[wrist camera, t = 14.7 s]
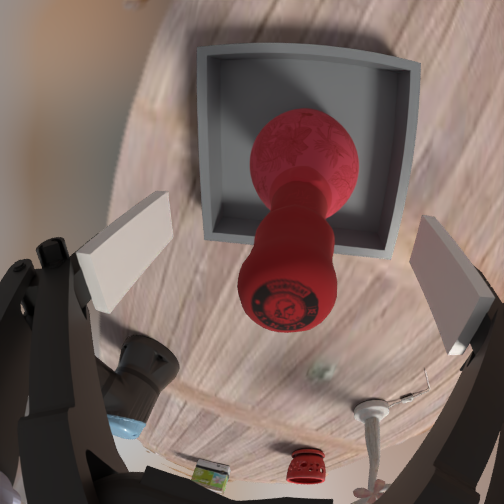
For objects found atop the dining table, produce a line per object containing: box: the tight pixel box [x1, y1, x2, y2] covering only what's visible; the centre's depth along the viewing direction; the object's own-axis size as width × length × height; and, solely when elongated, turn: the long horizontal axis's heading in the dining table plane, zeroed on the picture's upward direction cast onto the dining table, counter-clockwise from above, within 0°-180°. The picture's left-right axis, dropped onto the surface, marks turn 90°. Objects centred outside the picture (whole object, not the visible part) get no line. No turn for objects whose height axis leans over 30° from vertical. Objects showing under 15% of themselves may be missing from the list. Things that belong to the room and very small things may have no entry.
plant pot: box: [286, 449, 326, 484], centre depth 76 cm, size 13×13×12 cm
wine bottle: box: [237, 108, 359, 333], centre depth 21 cm, size 10×10×30 cm
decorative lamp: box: [351, 370, 430, 504], centre depth 43 cm, size 28×24×40 cm
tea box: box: [191, 459, 230, 494], centre depth 102 cm, size 15×10×15 cm
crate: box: [197, 43, 421, 260], centre depth 32 cm, size 24×24×6 cm
